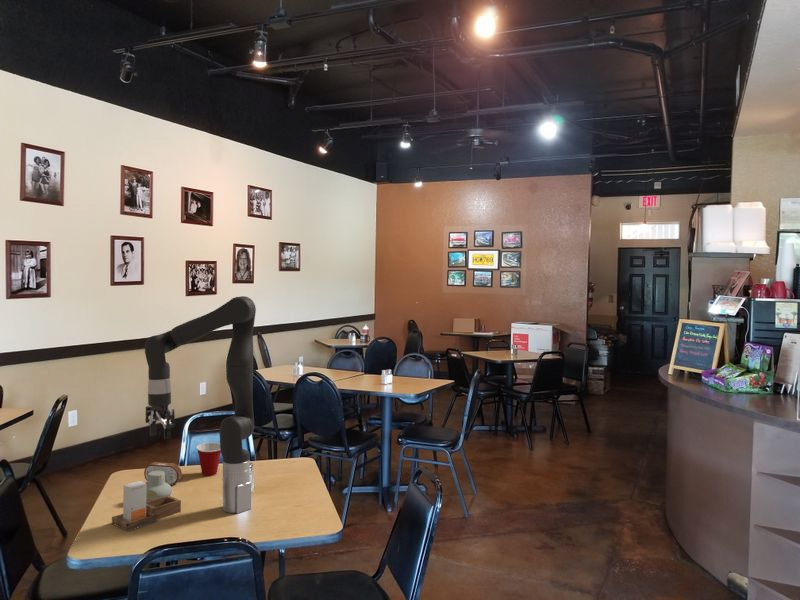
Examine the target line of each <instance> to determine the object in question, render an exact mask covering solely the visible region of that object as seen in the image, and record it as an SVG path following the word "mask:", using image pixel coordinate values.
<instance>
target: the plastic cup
mask: <svg viewBox="0 0 800 600" xmlns="http://www.w3.org/2000/svg"><path fill="white" fill-rule="evenodd" d="M195 449H196V451H197V453H198V459H199V464H200V468H201V469H200V470H201V475H202V476H204V477H212V476H216V475H217V472H218V469H219V466H220V465H219V463H220V460H221V459H220V458H221V455H222V454H221V451H220V442H205V443H200V444H198V445H196V448H195Z"/></svg>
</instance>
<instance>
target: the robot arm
mask: <svg viewBox="0 0 800 600" xmlns="http://www.w3.org/2000/svg"><path fill="white" fill-rule="evenodd" d="M256 313H257V307H256V304H255V302H254V300H253V299H251V298H250V297H248V296H236V297H235V296H234V297H233V298H230V300H227V302H225V303H224V304H222V305H221V306H219V307H217V308H215V309H214V310H213V311H210V312H208V313H206V314H204V315H202V316H199V317H196V318H193V319H191V320H188V321H186V322H183V323H181V324H179V325H177V326H175V327H174V328H172V329H171V330H169V331H168V330H167V331H166V332H163V333H160V334H157V335H152V336H150V337H148V338H147V339H146V341H145V343H144V355H145V359H146V362H147V366H148V367H147V368H148V372H147V373H148V383H147V406H145V424H148V426H149V435H150V436H151V437H154V436H157V435H158V432H157V431H158V430H157V429H158V428H157V422H159V423H160V424H161V425H162V427H163V439H164V440H169V439H171V438H172V428H173V427H175V426H176V420H175V409H174V408H172V409H169V405H171V403H172V386H171V385H172V382H171V367H170V364H169V363H168V362H167V360H166V354H167V353H170V352H172V351H174V350H176V349H177V348H179V347H181V346H184V345H187V344H190V343H192V342H194V341H196V340H199V339H201V338H202V337H204V336H206V335H207V334H210V333H212V332H213V331H215V330H218V329H220V328H224V327H226V326H231V325H232V334H231V335H232V336H231V341H230V344H229V347H228V348H229V349H228V351H227V355H226V356H227V357H226V365H225V367H226V368H225V369H226V374H225V375H226V377H225V378H226V380H227V384H228V386H229V389H230V390H231V393H232V395H233V398H234V415H230V416H228V417H225V418H224V419H222V421H221V423H220V425H219V426H220V427H219V444H220V451H221V454H220V455H221V456H222V457H221V458H222V511H224V513H230V514H240V513H243V512H246V511H249V510H251V509H252V482H251V481H250V480H251V479H250V470H251V469H250V468H251V467H250V465H251V464H250V463H251V462H250V461H251V459H250V457H251V456H250V455H251V454H250V451H249V450H247V449H243V440H246V439H248V438H250V437H251V436H252V435H253V433H254V430H255V417H254V416H255V415H254V401H253V399H254V398H253V391H254V390H253V389H254V388H253V386H254V385H253V383H254V381H253V380H254V379H253V378H254V338H253V336H254V327H255V319H256Z"/></svg>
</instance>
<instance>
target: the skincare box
mask: <svg viewBox="0 0 800 600" xmlns="http://www.w3.org/2000/svg"><path fill="white" fill-rule="evenodd" d="M122 488H123V494H122V497H123V500H122V505H123V506H122V507H123V509H122V514H123V521H125V522H127V523H131V522H134V521H137V520H140V519H143V518H146V502H147V501H146V488H147V483H146V482H144V481H142V480H139V481H135V482H134V481H133V482H130V483H127V484H123V487H122Z"/></svg>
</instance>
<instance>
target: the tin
mask: <svg viewBox="0 0 800 600" xmlns="http://www.w3.org/2000/svg"><path fill="white" fill-rule="evenodd" d="M152 471H163V472H165V483H168V484H169V485H170V486H174V485H175V484H177V483H179V482H180V481H181V479H182V476H183V472H182V469H181V467H180V466H179V465H178V464H176V463H173V462H171V463H170V462H159V461H153V462H151V463H149V464H148V465H146V467H145V469H144V472H143V475H144V479H145V481H147V479H148V473H150V472H152Z"/></svg>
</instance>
